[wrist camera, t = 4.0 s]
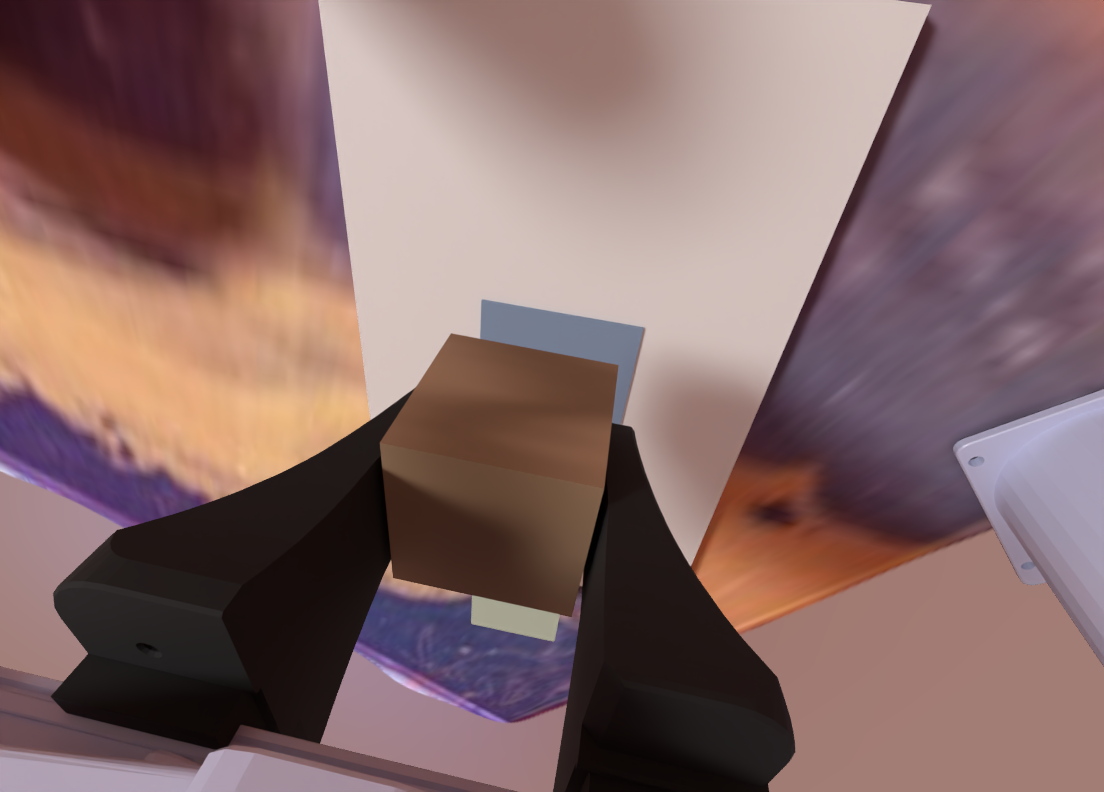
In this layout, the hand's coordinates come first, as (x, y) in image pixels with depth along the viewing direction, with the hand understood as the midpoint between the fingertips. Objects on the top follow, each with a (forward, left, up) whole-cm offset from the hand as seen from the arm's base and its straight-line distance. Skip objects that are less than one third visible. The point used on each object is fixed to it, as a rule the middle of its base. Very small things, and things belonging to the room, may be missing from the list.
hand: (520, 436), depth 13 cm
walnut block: (0, 0, -1) cm, 1 cm away
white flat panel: (-2, +2, -8) cm, 9 cm away
